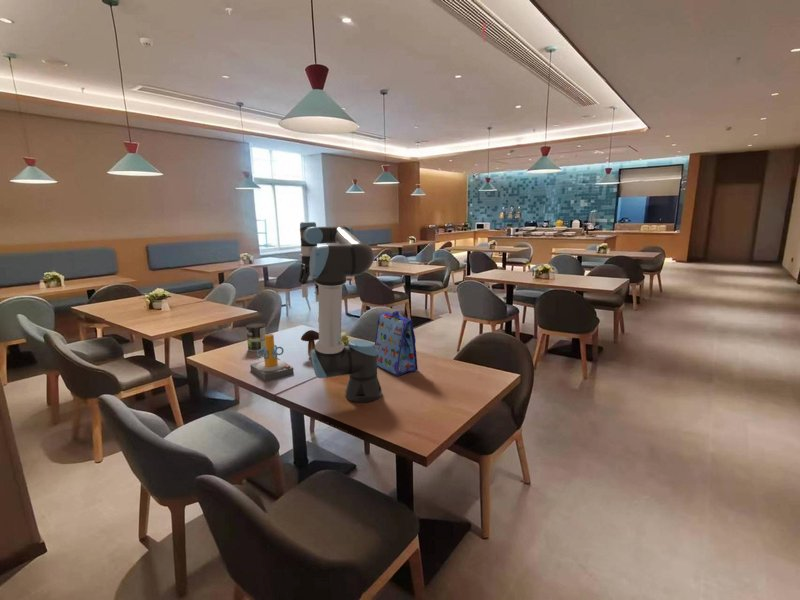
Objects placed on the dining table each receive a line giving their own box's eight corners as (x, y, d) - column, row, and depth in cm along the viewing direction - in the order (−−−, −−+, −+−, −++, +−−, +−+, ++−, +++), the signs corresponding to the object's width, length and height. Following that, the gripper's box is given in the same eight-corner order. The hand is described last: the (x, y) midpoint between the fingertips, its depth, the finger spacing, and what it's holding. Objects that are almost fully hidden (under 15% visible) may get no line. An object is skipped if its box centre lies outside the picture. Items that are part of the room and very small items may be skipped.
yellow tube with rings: (275, 370, 186) (272, 339, 183) (254, 368, 188) (252, 338, 185) (287, 361, 198) (285, 332, 195) (268, 359, 200) (265, 331, 197)
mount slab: (293, 373, 191) (293, 366, 191) (265, 381, 182) (264, 373, 182) (277, 363, 205) (277, 356, 204) (250, 370, 196) (250, 363, 195)
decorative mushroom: (301, 361, 207) (300, 333, 204) (301, 354, 218) (300, 328, 215) (323, 359, 210) (321, 332, 207) (322, 353, 220) (321, 326, 217)
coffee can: (252, 353, 221) (250, 328, 218) (245, 348, 228) (243, 324, 225) (270, 348, 227) (268, 325, 225) (262, 344, 235) (260, 321, 232)
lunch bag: (418, 370, 195) (418, 313, 189) (396, 377, 187) (395, 317, 181) (392, 358, 212) (392, 305, 206) (370, 364, 204) (369, 309, 198)
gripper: (330, 256, 181) (331, 302, 186) (304, 253, 200) (306, 294, 204) (315, 257, 177) (317, 304, 181) (290, 253, 195) (292, 296, 199)
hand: (311, 299), depth 193 cm, fingers open, 13 cm apart
